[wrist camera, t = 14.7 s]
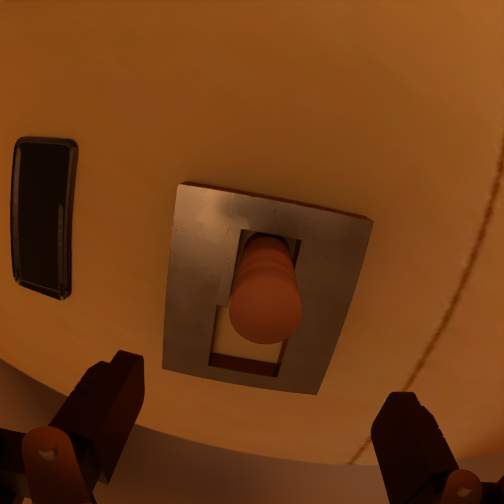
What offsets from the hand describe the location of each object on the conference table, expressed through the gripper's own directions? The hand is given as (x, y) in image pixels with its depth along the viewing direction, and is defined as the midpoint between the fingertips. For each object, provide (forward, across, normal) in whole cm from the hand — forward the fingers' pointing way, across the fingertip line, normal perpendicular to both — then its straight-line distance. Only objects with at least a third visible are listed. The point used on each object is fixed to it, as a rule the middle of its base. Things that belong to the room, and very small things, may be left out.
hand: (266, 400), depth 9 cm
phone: (+17, +21, +1) cm, 27 cm away
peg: (+16, 0, 0) cm, 16 cm away
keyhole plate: (+16, 0, +4) cm, 17 cm away
